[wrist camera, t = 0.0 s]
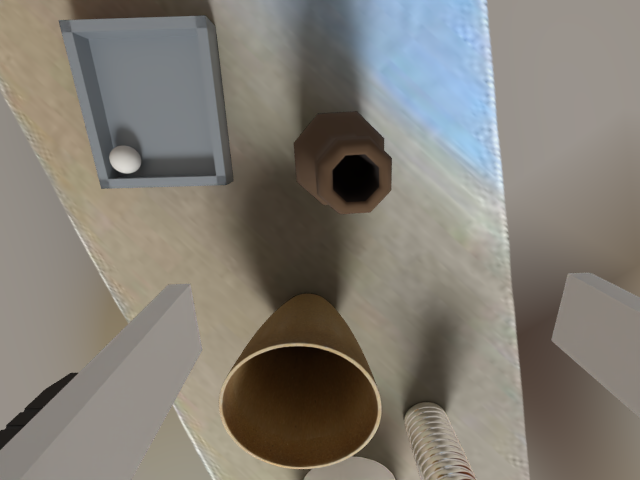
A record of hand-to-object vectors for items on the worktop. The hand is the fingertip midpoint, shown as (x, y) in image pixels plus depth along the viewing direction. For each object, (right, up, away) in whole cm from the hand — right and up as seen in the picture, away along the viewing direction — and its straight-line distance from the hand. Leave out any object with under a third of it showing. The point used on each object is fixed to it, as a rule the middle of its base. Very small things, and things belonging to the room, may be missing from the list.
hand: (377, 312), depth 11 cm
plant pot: (-4, -8, +32) cm, 34 cm away
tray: (-20, +17, +24) cm, 35 cm away
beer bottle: (-1, +13, +25) cm, 29 cm away
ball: (-24, +12, +25) cm, 36 cm away
